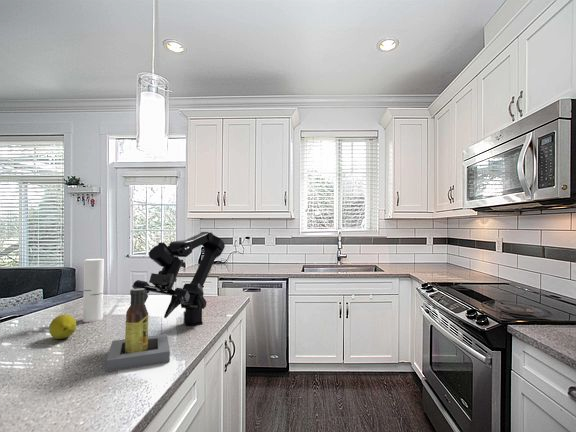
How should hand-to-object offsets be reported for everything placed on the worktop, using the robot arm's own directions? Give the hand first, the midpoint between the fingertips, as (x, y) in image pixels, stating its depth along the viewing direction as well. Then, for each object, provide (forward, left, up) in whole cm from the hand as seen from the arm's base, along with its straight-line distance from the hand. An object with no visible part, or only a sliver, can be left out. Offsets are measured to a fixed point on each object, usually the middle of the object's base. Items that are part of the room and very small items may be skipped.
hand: (151, 315), depth 105 cm
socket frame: (+3, +9, -9) cm, 14 cm away
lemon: (+28, -18, -10) cm, 35 cm away
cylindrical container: (+22, -40, -10) cm, 46 cm away
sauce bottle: (+4, +8, -10) cm, 13 cm away
